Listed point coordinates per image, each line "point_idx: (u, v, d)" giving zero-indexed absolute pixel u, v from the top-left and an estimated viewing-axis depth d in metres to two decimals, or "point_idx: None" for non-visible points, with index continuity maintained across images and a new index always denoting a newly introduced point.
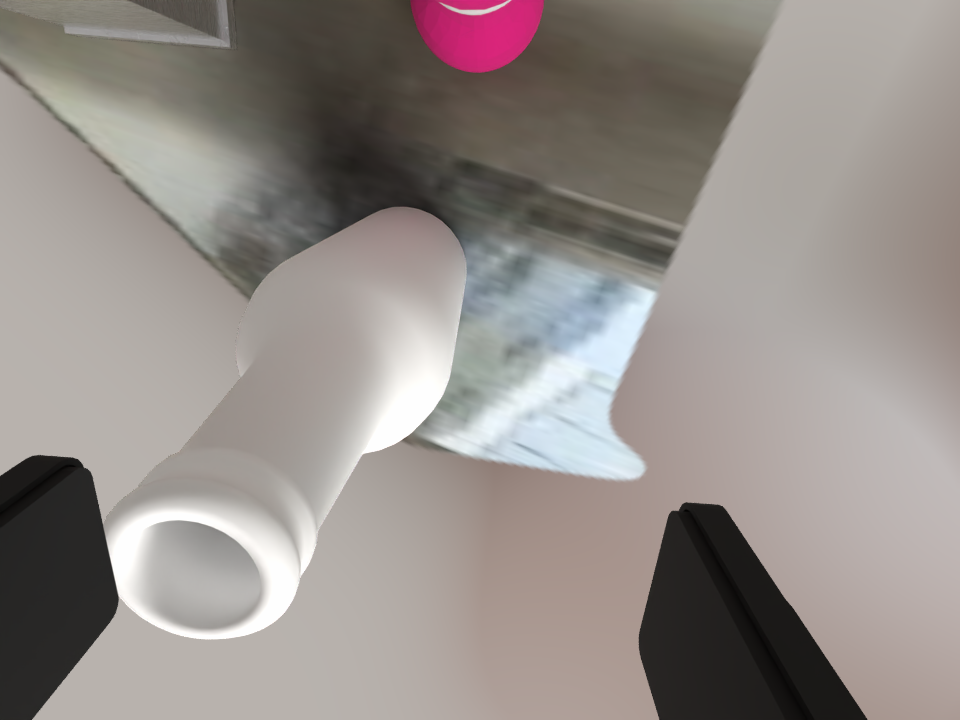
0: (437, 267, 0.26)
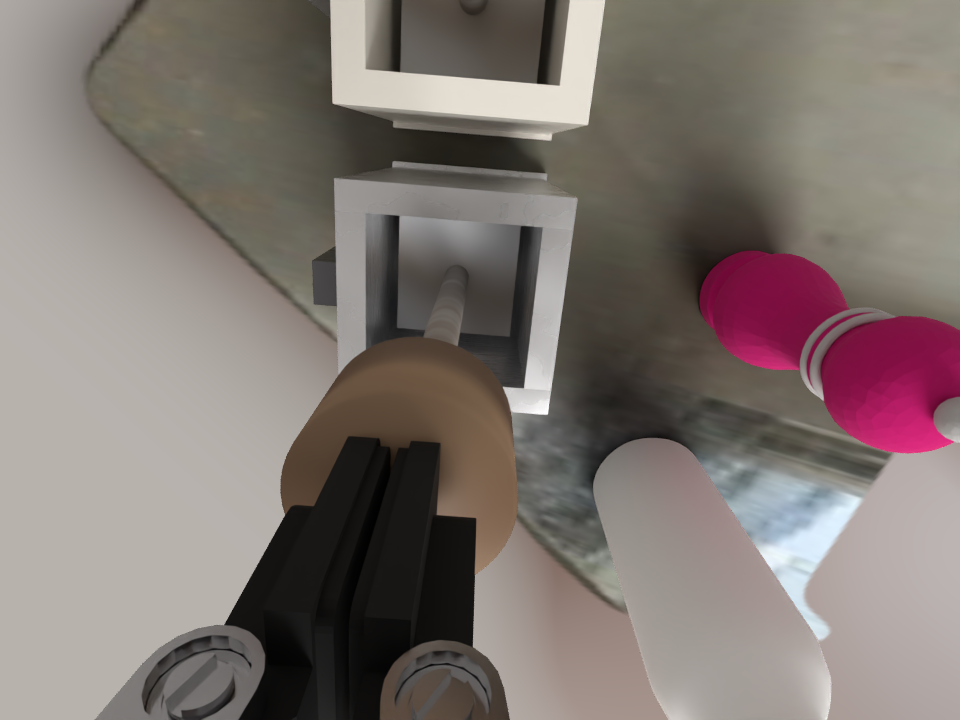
0: None
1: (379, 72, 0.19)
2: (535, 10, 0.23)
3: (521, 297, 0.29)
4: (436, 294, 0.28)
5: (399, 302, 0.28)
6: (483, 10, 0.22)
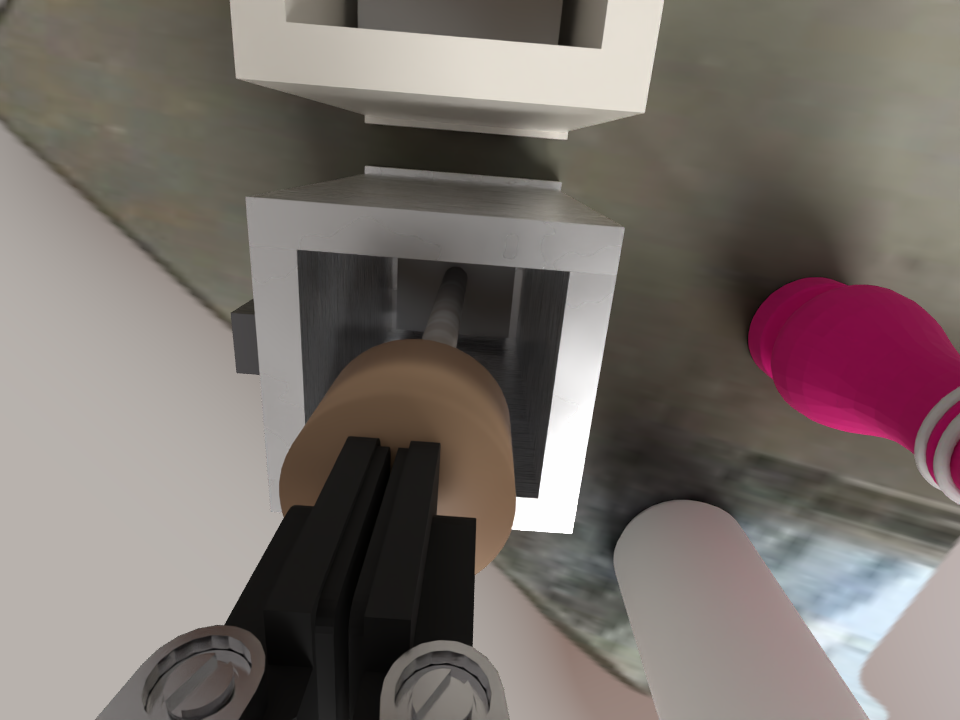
0: (856, 700, 0.24)
1: (309, 27, 0.12)
2: None
3: (531, 349, 0.22)
4: (435, 295, 0.28)
5: (398, 303, 0.28)
6: None
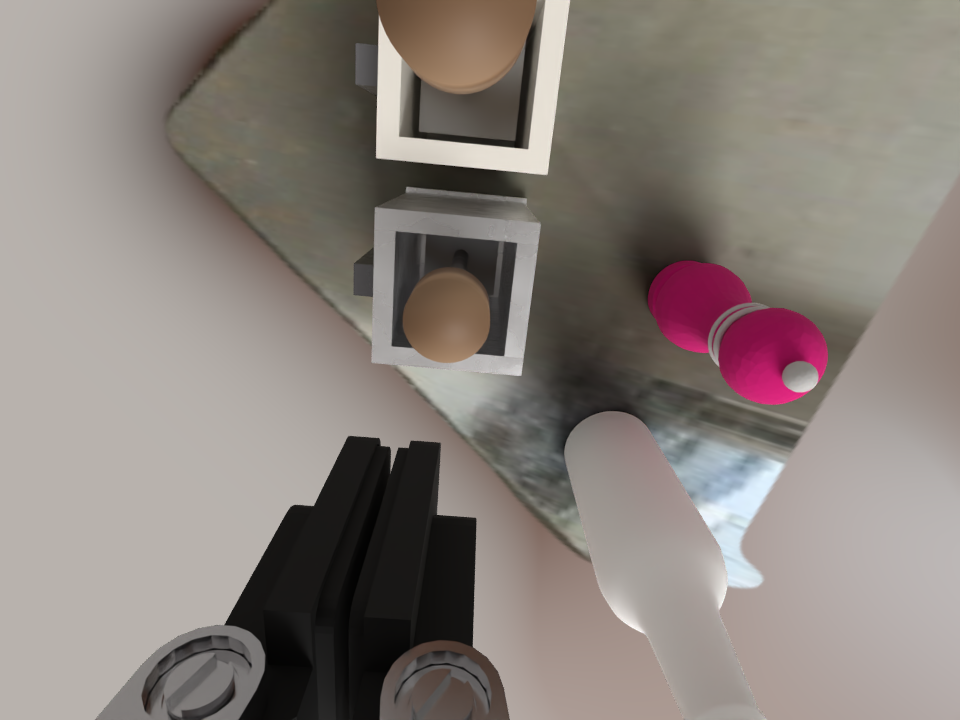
0: (692, 502, 0.41)
1: (408, 138, 0.29)
2: (514, 91, 0.32)
3: (504, 293, 0.38)
4: None
5: (425, 272, 0.45)
6: None
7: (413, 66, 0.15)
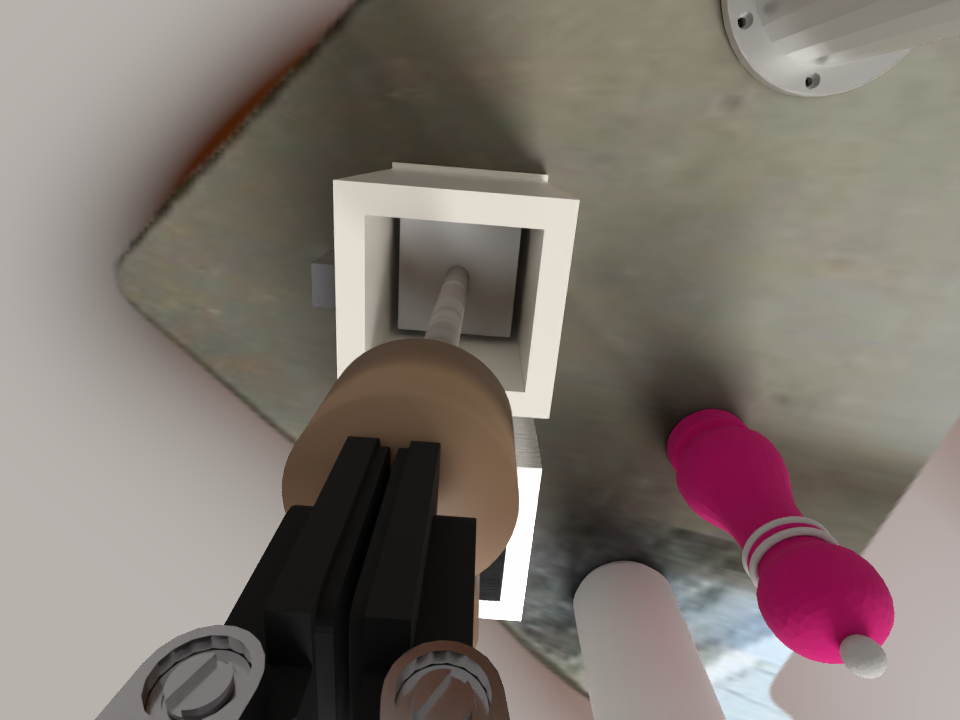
0: (722, 716, 0.35)
1: None
2: (508, 286, 0.28)
3: None
4: None
5: None
6: None
7: None
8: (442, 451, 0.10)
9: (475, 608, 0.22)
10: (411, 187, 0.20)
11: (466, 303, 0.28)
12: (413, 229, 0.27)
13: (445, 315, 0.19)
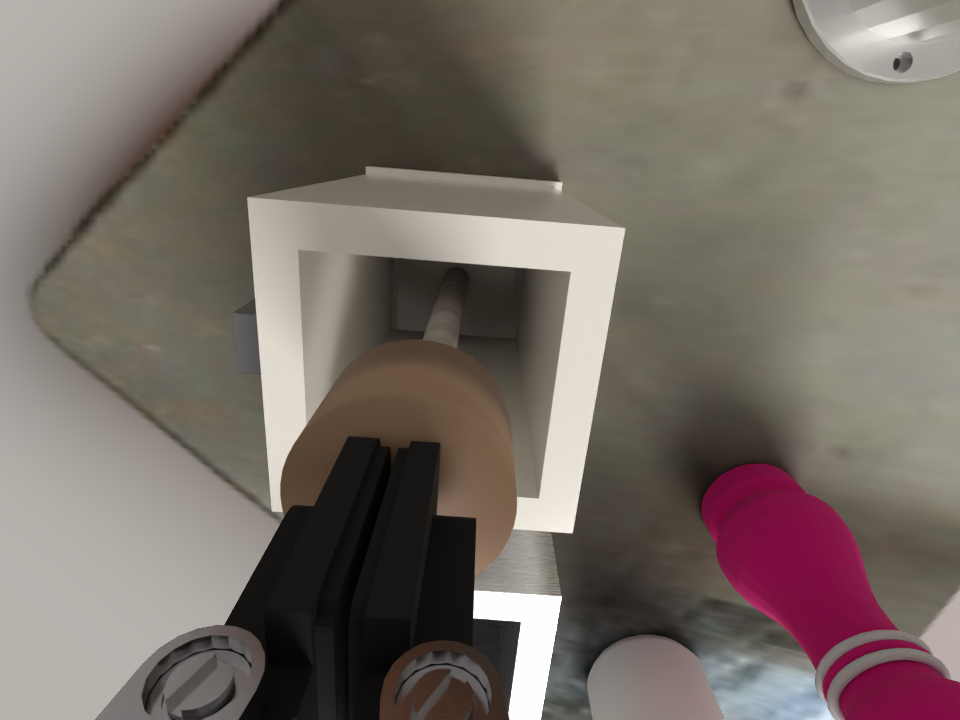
0: None
1: None
2: (507, 287, 0.28)
3: None
4: None
5: None
6: None
7: None
8: (440, 452, 0.10)
9: None
10: (367, 208, 0.13)
11: (465, 304, 0.28)
12: None
13: (443, 317, 0.19)
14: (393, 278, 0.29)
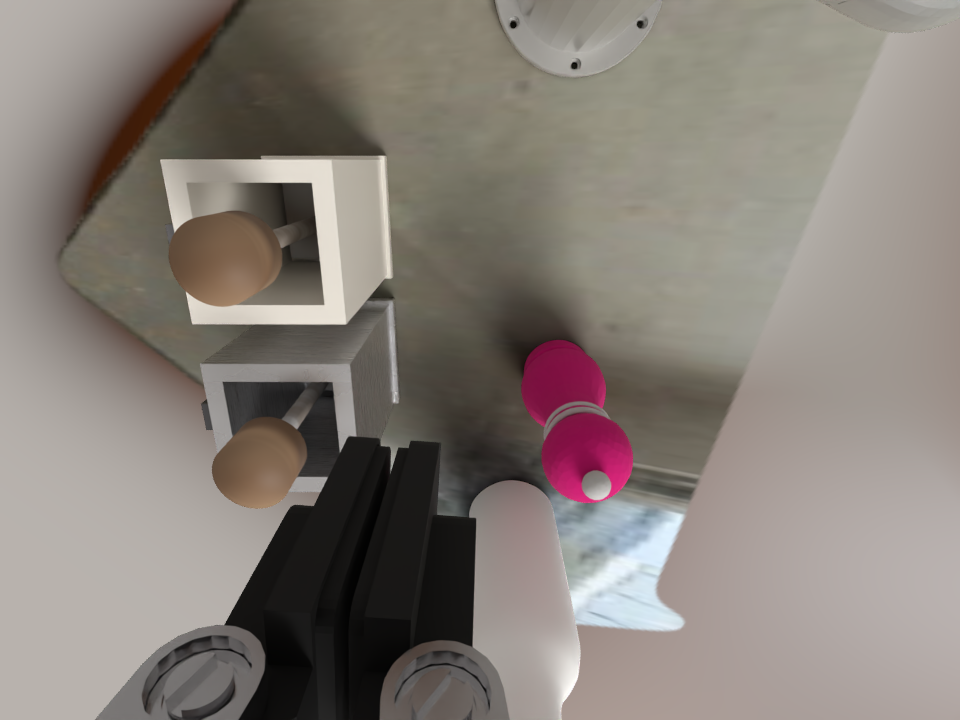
0: (559, 579, 0.43)
1: None
2: None
3: None
4: None
5: None
6: None
7: (199, 300, 0.27)
8: (225, 238, 0.26)
9: (288, 456, 0.30)
10: (214, 160, 0.29)
11: None
12: (291, 192, 0.43)
13: (285, 226, 0.35)
14: None
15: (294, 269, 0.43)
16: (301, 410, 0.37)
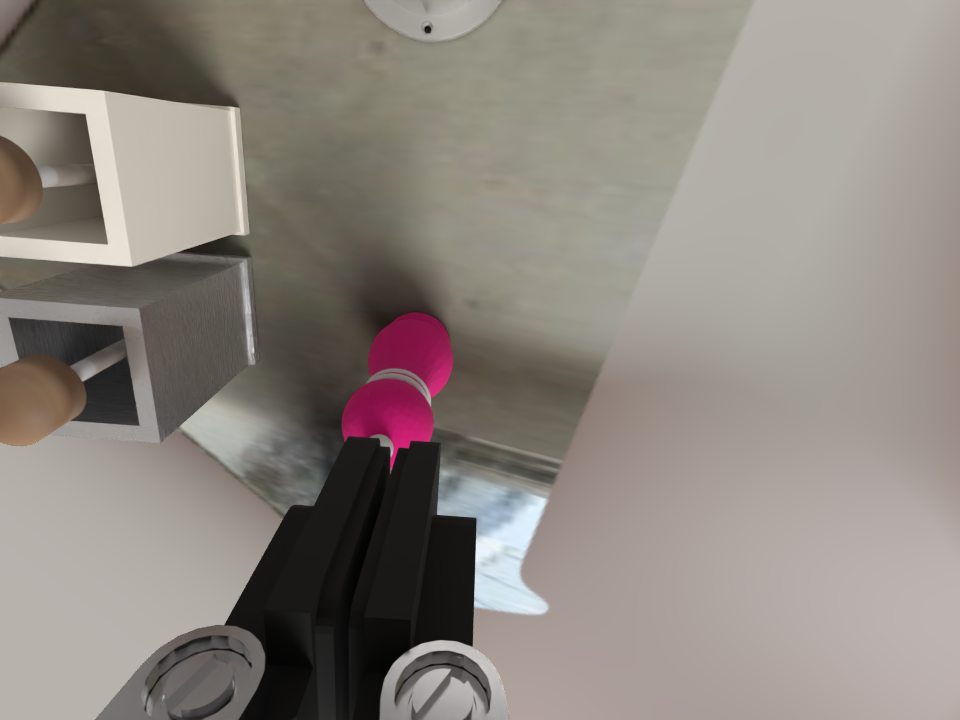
0: None
1: None
2: None
3: None
4: None
5: None
6: None
7: None
8: None
9: (48, 394, 0.30)
10: None
11: None
12: None
13: None
14: None
15: None
16: (106, 356, 0.36)
